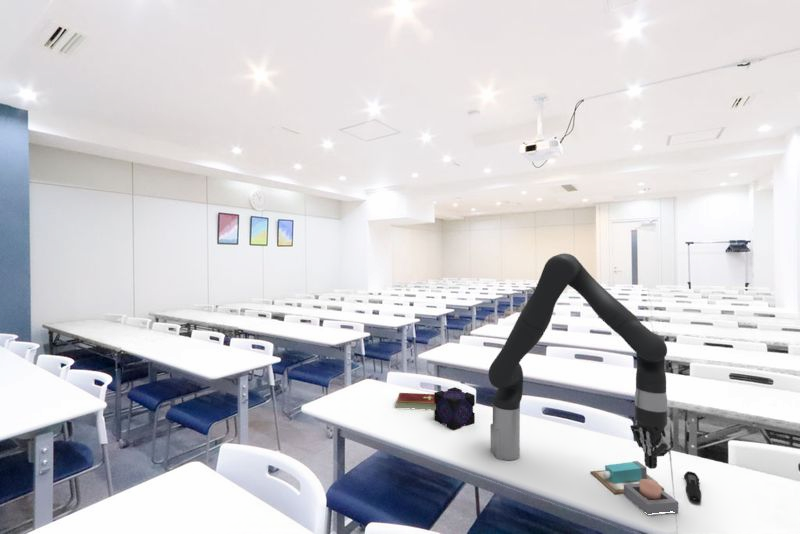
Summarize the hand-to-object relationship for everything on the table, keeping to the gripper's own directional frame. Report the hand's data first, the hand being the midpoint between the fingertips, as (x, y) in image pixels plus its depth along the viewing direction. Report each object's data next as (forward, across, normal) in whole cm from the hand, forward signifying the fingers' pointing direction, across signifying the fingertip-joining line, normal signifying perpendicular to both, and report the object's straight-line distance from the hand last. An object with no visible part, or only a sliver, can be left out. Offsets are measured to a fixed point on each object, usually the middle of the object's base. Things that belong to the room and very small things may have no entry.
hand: (650, 467), depth 104 cm
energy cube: (+10, +59, +40) cm, 72 cm away
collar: (+10, 0, 0) cm, 10 cm away
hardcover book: (+11, +79, +51) cm, 95 cm away
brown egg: (+8, 0, 0) cm, 8 cm away
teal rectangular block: (+9, +11, -1) cm, 14 cm away
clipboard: (+10, +11, -1) cm, 15 cm away
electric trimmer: (+11, +4, -18) cm, 21 cm away
